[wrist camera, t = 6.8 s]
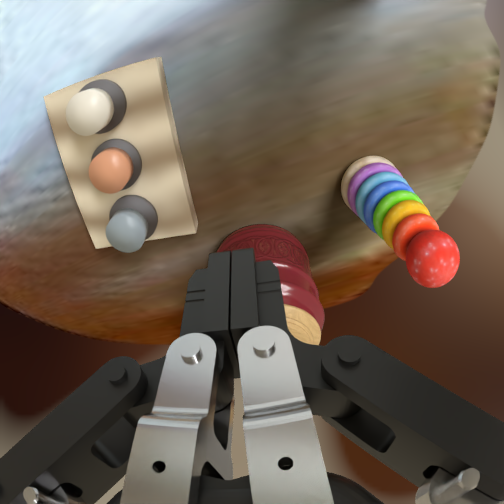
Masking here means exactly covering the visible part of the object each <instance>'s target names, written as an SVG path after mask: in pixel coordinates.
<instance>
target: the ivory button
mask: <svg viewBox="0 0 504 504" xmlns="http://www.w3.org/2000/svg"><path fill="white" fill-rule="evenodd" d="M113 112H114V105H113V101H112V99H111V97H110V95H109V94H108V93H107V92H105V91H104V90H102V89H99V88H91V89H87V90H84V91H81V92H79V93H77V94H75V95H74V96H73V97H72V98H71V99H70V101H69V103H68V105H67V108H66V120H67V123H68V125H69V127H70V128H71V129H72V130H73V131H74V132H75V133H77V134H79V135H82V136H89V135H93V134H95V133H97V132H98V131H100V130H101V129H103V128H104V127H105V126H107V125H108V123H109V122H110V121H111V119H112V116H113Z"/></svg>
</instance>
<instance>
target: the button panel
mask: <svg viewBox="0 0 504 504" xmlns="http://www.w3.org/2000/svg"><path fill="white" fill-rule="evenodd" d="M91 88H99V89H102V90H104V91H105V92H107V93H108V94H109V95H110V97H111V99H112V101H113V105H114V112H113V116H112V119H111V121H110V122H109V123H108V125H107V126H105V127H104V128H103V129H101V130H100V131H98V132H97V133H95V134H93V135H89V136H82V135H79V134H77V133H75V132H74V131H73V130H72V129H71V128H70V127H69V125H68V123H67V120H66V108H67V105H68V103H69V101H70V99H71V98H72V97H73V96H74V95H75V94H77V93H79V92H81V91H84V90H87V89H91ZM44 100H45V104H46V108H47V112H48V116H49V119H50V123H51V126H52V130H53V133H54V137H55V140H56V143H57V146H58V150H59V153H60V156H61V159H62V162H63V165H64V168H65V171H66V174H67V177H68V179H69V182H70V185H71V188H72V191H73V193H74V196H75V199H76V201H77V204H78V206H79V209H80V212H81V214H82V217H83V219H84V222H85V224H86V226H87V229H88V231H89V234H90V236H91V238H92V241H93V243H94V245H95V248H96V249H98V248H104V247H110V246H112V245H111V244H110V243H109V241H108V240H107V237H106V227H107V225H108V223H109V221H110V220H111V218H112V217H113V215H114V214H115V213H116V212H117V211H118V210H120V209H124V208H129V209H134V210H136V211H138V212H140V213H141V214H142V215H143V216H144V217H145V219H146V221H147V223H148V233H147V236H146V238H145V240H144V241H148V240H154V239H161V238H167V237H174V236H181V235H187V234H194V233H196V231H197V226H198V220H197V216H196V212H195V208H194V204H193V200H192V196H191V192H190V188H189V183H188V179H187V175H186V171H185V166H184V162H183V158H182V153H181V149H180V145H179V140H178V136H177V131H176V126H175V122H174V117H173V113H172V108H171V103H170V98H169V93H168V89H167V84H166V79H165V74H164V68H163V63H162V58H161V57H156V58H152V59H148V60H144V61H141V62H137V63H134V64H130V65H127V66H124V67H121V68H117V69H114V70H111V71H108V72H105V73H102V74H100V75H97V76H94V77H91V78H88V79H86V80H83V81H80V82H78V83H75V84H73V85H70V86H68V87H65V88H63V89H60V90H58V91H56V92H53V93H51V94H49V95H47V96H44ZM110 147H116V148H120V149H122V150H124V151H125V152H126V153H127V154H128V155H129V156H130V157H131V159H132V162H133V174H132V177H131V178H130V180H129V181H128V182H127V184H126V185H125V186H124V188H123V189H122V190H120V191H119V192H117V193H112V194H108V193H104V192H101V191H99V190H98V189H97V188H95V186H94V185H93V184H92V182H91V180H90V178H89V166H90V163H91V161H92V160H93V159H94V158H95V157H96V156H97V155H98V154H99V153H100V152H102V151H103V150H105V149H107V148H110Z"/></svg>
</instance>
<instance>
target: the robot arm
mask: <svg viewBox="0 0 504 504" xmlns="http://www.w3.org/2000/svg"><path fill="white" fill-rule="evenodd" d="M185 301H186V303H185V306H184V313H183V319H182V325H181V332H180V337H179V338H178V339H176V340H175V341H174V342H173V343H172V344H171V345H170V347H169V349H168V352H167V355H166V356H164V357H162V358H160V359H158V360H155V361H152V362H149V363H146V364H143V365H139V364H138V363H137V361H136V360H134V359H133V358H130V357H125V356H123V357H116V358H114V359H111V360H110V361H108V362H107V363H105V364H104V365H103V366H102V367H101V368H100V369H99V370H97V371H96V372H95V373H94V374H93V375H92V376H91V377H90V378H89V379H87V380H86V381H85V382H84V383H83V384H82V385H81V386H80V387H78V388H77V389H76V390H75V391H74V392H73V393H72V394H71V395H70V396H68V397H67V398H66V399H65V400H64V401H63V402H62V403H61V404H60V405H58V406H57V407H56V408H55V409H54V410H53V411H52V412H51V413H50V414H49V415H47V416H46V417H45V418H44V419H43V420H42V421H41V422H40V423H39V424H38V425H36V427H34V428H33V429H32V430H31V431H30V432H29V433H28V434H27V435H25V436H24V437H23V438H22V439H21V440H20V441H19V442H18V443H17V444H16V445H15V446H14V447H12V449H10V450H9V451H8V452H7V453H6V454H5V455H4V456H3V457H2V458H0V504H94V503H95V502H96V501H97V500H99V499H100V498H101V497H102V496H103V495H104V494H105V493H106V492H107V491H108V490H109V489H111V488H112V487H113V486H114V485H115V484H116V483H117V482H118V481H119V480H120V479H121V478H122V477H123V476H124V475H125V474H126V476H125V481H124V486H123V489H122V490H121V491H120V492H118V493H117V494H116V495H115V496H114V497H113V498H112V499H111V500H110V501H109V502H108V503H107V504H384V503H383V502H381V501H380V500H379V499H377V498H376V497H375V496H374V495H372V494H371V493H370V492H368V491H367V490H366V489H365V488H363V487H362V486H361V485H359V484H357V483H356V482H354V481H352V480H350V479H348V478H346V477H343V476H341V475H337V474H334V473H329V472H326V469H325V465H324V461H323V456H322V453H321V448H320V444H319V440H318V436H317V432H316V428H315V424H314V420H313V416H312V415H319V416H322V418H323V419H324V420H325V421H326V422H328V423H329V424H330V425H331V426H333V427H334V428H335V429H337V430H338V431H339V432H341V433H342V434H343V435H345V436H346V437H347V438H349V439H350V440H351V441H353V442H354V443H356V444H357V445H358V446H360V447H361V448H362V449H364V450H365V451H366V452H368V453H369V454H371V455H372V456H373V457H375V458H376V459H378V460H379V461H381V462H382V463H384V464H385V465H386V466H388V467H389V468H391V469H392V470H394V471H395V472H397V473H398V474H400V475H401V476H403V477H404V478H406V479H407V480H409V481H410V482H412V483H413V484H415V485H416V486H418V487H419V489H418V491H417V494H416V499H415V502H416V504H504V422H502V421H500V420H498V419H497V418H495V417H493V416H491V415H490V414H488V413H486V412H485V411H483V410H481V409H480V408H478V407H476V406H474V405H473V404H471V403H469V402H468V401H466V400H464V399H462V398H461V397H459V396H458V395H456V394H454V393H452V392H451V391H449V390H447V389H446V388H444V387H443V386H441V385H439V384H438V383H436V382H434V381H433V380H431V379H429V378H428V377H426V376H424V375H423V374H421V373H419V372H417V371H416V370H414V369H413V368H411V367H409V366H408V365H406V364H404V363H402V362H401V361H399V360H398V359H396V358H394V357H393V356H391V355H390V354H388V353H386V352H385V351H383V350H381V349H380V348H378V347H376V346H375V345H373V344H371V343H370V342H368V341H367V340H365V339H363V338H360V337H357V336H351V335H346V336H340V337H337V338H335V339H333V340H331V341H330V342H329V343H328V344H327V345H326V346H320V345H312V344H307V343H304V342H302V341H300V340H298V339H296V338H295V337H294V336H293V335H292V334H291V333H290V331H289V329H288V326H287V321H286V314H285V308H284V301H283V295H282V289H281V283H280V276H279V270H278V268H277V267H276V266H275V265H274V264H273V262H272V261H271V260H268V261H260V262H256V260H255V253H254V248H246V249H239V250H232V252H231V251H224V252H217V253H210V254H209V261H208V268H207V269H199V270H196V271H195V273H194V274H193V275H192V277H191V278H190V280H189V283H188V289H187V294H186V300H185ZM234 378H241V385H242V394H243V403H244V415H243V428H244V437H245V445H246V453H247V461H248V469H249V475H248V476H244V477H240V478H237V479H233V464H232V459H231V443H232V429H233V418H234V405H235V398H234Z"/></svg>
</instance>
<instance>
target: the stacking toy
mask: <svg viewBox="0 0 504 504" xmlns="http://www.w3.org/2000/svg"><path fill="white" fill-rule="evenodd" d="M341 194H342V197H343V200H344V202H345V204H346V205H347V206H348V207H349V208H350V209H351V210H352V211H353V212H354V213H355V214H356V215H357V216H358V217H360V219H361V220H362V221H363V222H364V223H365V224H366V225H367V226H368V227H369V228H370V229H371V230H372V231H373V232H375V233H376V234H378V235H379V237H381V238H382V239H383V240H384V241H385V242H386V244H387V245H388V246H389V247H391V248H392V249H394V251H395V253H396V255H397V256H398V257H399V258H401V259H403V260H405V261H406V265H407V269H408V272H409V274H410V275H411V277H412V278H413V279H414V280H415V281H416V282H417V283H419V284H420V285H422V286H425V287H429V288H436V287H440V286H443V285H445V284H446V283H448V282H449V281H450V280H451V279H452V278H453V277H454V275H455V274H456V272H457V269H458V266H459V260H460V258H459V250H458V247H457V245H456V243H455V242H454V240H453V239H452V238H451V237H450V236H449V235H448V234H446V233H444V232H442V231H440V230H439V227H438V225H437V223H436V221H435V220H434V219H433V218H432V217H431V216H430V213H429V211H428V209H427V208H426V207H425V206H424V205H423V203H422V201H421V199H420V198H419V197H418V196H417V195H416V194H415V193H414V191H413V190H412V188H411V187H410V186H409V185H408V183H407V182H406V180H405V179H404V178H403V177H402V175H401V173H400V172H399V171H398V170H397V169H396V168H395V166H394V165H393V164H392V163H391V162H390V161H388V160H387V159H385V158H383V157H379V156H367V157H363V158H361V159H359V160H357V161H355V162H354V163H353V164H351V165H350V166H349V168H348V169H347V170H346V172H345V174H344V176H343V178H342V182H341Z"/></svg>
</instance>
